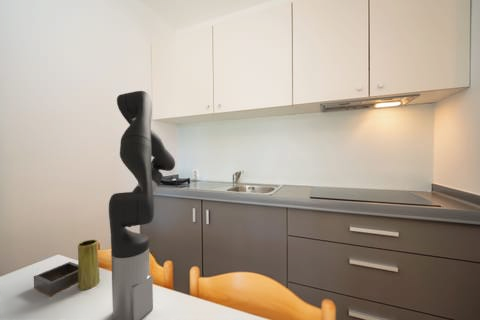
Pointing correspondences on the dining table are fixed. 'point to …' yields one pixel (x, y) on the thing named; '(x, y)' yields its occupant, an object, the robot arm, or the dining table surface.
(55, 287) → the square grey tray
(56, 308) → the dining table surface
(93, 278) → the vase
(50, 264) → the dining table surface
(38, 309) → the dining table surface
